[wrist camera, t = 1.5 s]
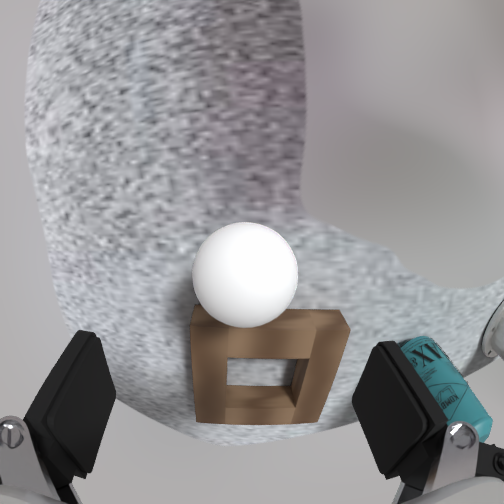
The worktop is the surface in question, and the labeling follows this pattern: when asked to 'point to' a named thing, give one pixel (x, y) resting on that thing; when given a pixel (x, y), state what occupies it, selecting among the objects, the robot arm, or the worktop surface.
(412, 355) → the beverage bottle
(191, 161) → the worktop surface
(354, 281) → the worktop surface
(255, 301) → the lightbulb
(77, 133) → the worktop surface
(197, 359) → the socket block
